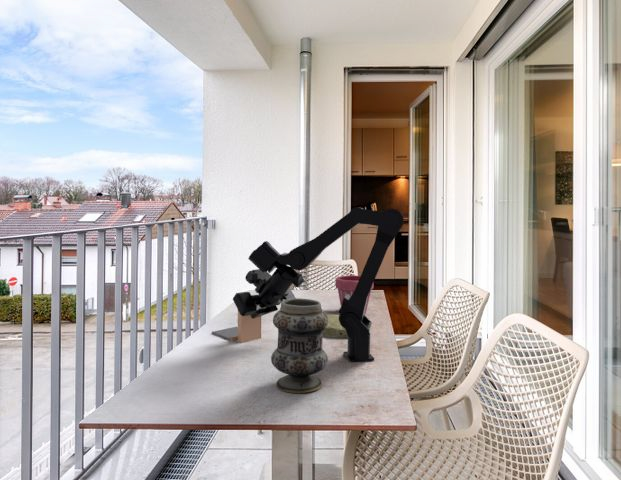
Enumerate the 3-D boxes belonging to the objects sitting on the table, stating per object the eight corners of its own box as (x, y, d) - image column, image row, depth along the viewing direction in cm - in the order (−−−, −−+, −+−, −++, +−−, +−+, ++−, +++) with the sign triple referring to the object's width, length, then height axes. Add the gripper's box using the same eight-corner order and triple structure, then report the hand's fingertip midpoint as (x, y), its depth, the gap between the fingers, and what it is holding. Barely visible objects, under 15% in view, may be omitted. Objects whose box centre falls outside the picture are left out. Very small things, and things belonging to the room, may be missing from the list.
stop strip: (259, 335, 132) (259, 331, 132) (231, 341, 125) (231, 337, 125) (257, 334, 133) (257, 330, 133) (229, 340, 126) (229, 336, 125)
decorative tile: (307, 321, 152) (307, 310, 151) (365, 325, 148) (365, 314, 147) (293, 336, 133) (293, 324, 133) (360, 341, 129) (360, 329, 129)
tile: (261, 337, 129) (261, 304, 128) (241, 342, 124) (241, 307, 123) (256, 336, 131) (256, 302, 130) (237, 341, 126) (237, 306, 125)
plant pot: (328, 308, 169) (329, 275, 168) (361, 306, 174) (362, 274, 173) (344, 317, 156) (345, 281, 155) (379, 314, 160) (380, 279, 160)
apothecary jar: (338, 384, 95) (340, 301, 94) (300, 401, 86) (301, 310, 85) (298, 370, 103) (299, 294, 102) (259, 384, 94) (259, 301, 93)
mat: (256, 334, 132) (256, 333, 132) (231, 340, 126) (231, 338, 126) (236, 328, 139) (236, 326, 139) (211, 333, 133) (211, 331, 133)
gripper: (290, 258, 128) (265, 290, 136) (237, 262, 114) (213, 298, 123) (309, 289, 123) (281, 320, 131) (256, 297, 109) (229, 332, 118)
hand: (252, 317), depth 126 cm, fingers closed
